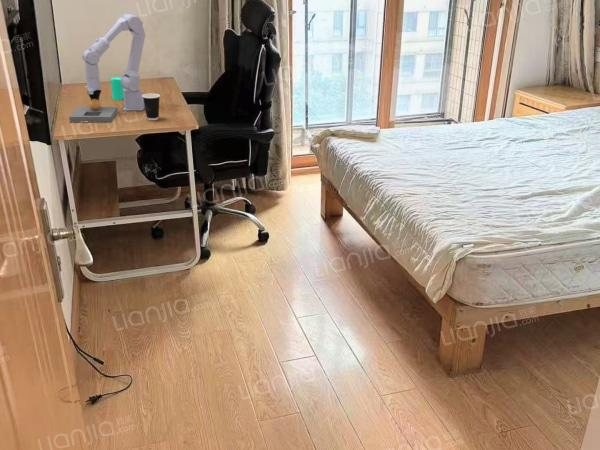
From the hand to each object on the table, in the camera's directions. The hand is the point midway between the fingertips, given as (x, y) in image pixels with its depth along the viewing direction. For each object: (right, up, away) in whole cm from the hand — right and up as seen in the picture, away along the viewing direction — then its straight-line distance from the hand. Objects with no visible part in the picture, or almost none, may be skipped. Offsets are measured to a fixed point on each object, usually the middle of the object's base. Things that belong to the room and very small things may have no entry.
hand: (95, 106), depth 286 cm
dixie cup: (+28, -7, -4) cm, 29 cm away
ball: (0, 0, -2) cm, 3 cm away
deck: (+1, -6, -4) cm, 7 cm away
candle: (+2, +9, +28) cm, 30 cm away
